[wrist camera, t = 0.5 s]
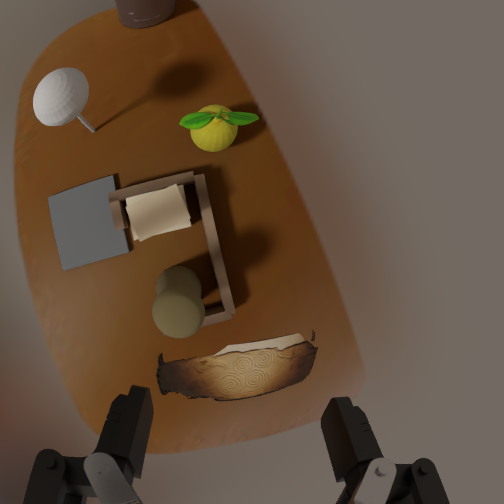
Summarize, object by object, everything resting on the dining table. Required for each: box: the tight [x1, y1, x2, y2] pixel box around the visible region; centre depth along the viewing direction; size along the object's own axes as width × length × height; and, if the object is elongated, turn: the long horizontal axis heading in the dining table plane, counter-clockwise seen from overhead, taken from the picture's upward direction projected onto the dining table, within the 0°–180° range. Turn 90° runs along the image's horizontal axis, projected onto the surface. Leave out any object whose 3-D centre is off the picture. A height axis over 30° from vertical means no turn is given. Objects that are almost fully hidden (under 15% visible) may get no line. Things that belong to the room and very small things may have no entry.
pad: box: [48, 175, 130, 271], centre depth 30 cm, size 10×10×1 cm
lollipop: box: [33, 68, 95, 133], centre depth 22 cm, size 6×6×15 cm
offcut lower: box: [126, 185, 191, 240], centre depth 32 cm, size 5×7×3 cm
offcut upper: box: [125, 184, 190, 241], centre depth 29 cm, size 4×6×3 cm, turn 113°
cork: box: [152, 266, 205, 338], centre depth 29 cm, size 6×6×11 cm
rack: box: [108, 171, 236, 336], centre depth 33 cm, size 19×12×2 cm, turn 12°
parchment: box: [156, 331, 318, 401], centre depth 38 cm, size 25×10×1 cm, turn 93°
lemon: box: [180, 105, 259, 152], centre depth 28 cm, size 7×6×10 cm
